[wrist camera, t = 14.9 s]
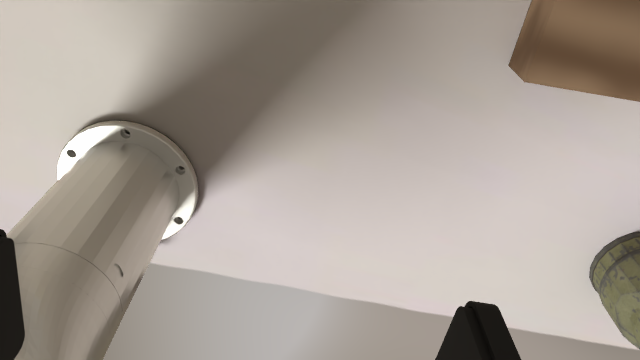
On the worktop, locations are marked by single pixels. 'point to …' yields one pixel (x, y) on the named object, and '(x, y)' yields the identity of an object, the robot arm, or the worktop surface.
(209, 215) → the worktop surface
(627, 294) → the thermos
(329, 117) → the worktop surface
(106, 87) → the worktop surface
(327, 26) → the worktop surface
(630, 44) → the walnut stand
